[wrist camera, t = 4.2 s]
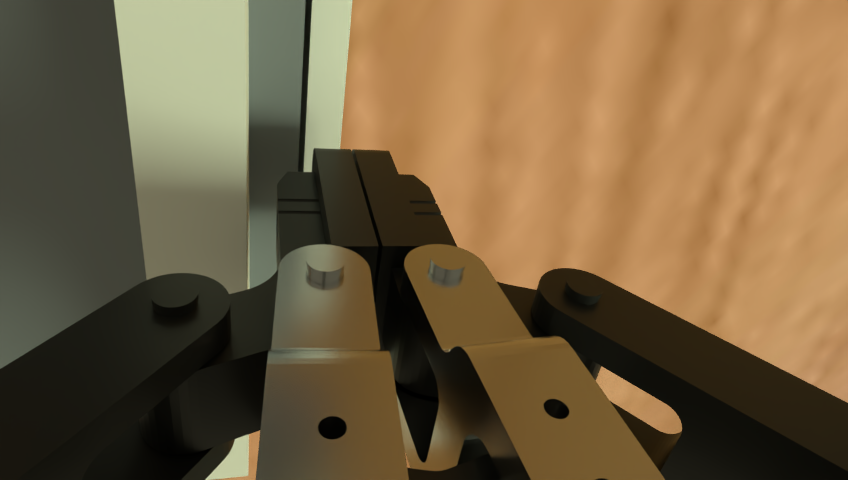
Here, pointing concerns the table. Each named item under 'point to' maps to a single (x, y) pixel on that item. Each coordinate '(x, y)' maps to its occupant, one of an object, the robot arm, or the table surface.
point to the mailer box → (323, 76)
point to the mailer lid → (140, 153)
